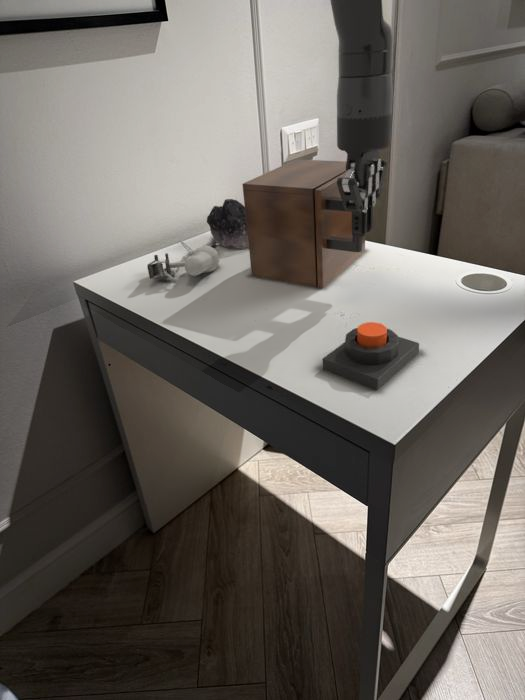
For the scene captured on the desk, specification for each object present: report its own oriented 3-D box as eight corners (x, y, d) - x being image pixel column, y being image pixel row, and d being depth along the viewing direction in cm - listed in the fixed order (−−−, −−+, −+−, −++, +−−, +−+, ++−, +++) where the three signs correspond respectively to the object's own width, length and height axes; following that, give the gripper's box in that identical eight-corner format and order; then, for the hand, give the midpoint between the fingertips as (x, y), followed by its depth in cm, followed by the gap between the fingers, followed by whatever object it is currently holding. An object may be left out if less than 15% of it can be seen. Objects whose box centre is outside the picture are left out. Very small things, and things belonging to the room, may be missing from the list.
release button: (367, 331, 67) (367, 319, 66) (391, 339, 65) (392, 327, 64) (351, 343, 65) (351, 331, 64) (376, 351, 63) (376, 339, 62)
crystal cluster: (272, 230, 118) (265, 185, 114) (276, 245, 106) (268, 196, 102) (214, 240, 119) (205, 196, 114) (212, 257, 107) (201, 208, 102)
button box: (365, 339, 72) (366, 314, 70) (418, 357, 68) (420, 330, 65) (322, 373, 66) (322, 346, 64) (377, 394, 62) (378, 366, 59)
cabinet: (358, 253, 100) (360, 161, 91) (316, 290, 87) (312, 188, 79) (299, 245, 106) (295, 159, 98) (252, 279, 94) (242, 183, 85)
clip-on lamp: (179, 269, 109) (145, 287, 92) (173, 238, 107) (137, 251, 90) (233, 263, 106) (208, 280, 89) (228, 231, 104) (201, 243, 88)
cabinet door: (394, 257, 96) (399, 164, 88) (355, 296, 84) (356, 192, 75) (360, 252, 100) (361, 162, 91) (317, 290, 87) (314, 189, 78)
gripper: (370, 119, 65) (367, 251, 74) (407, 103, 74) (400, 221, 83) (317, 119, 69) (320, 245, 78) (358, 104, 78) (357, 217, 87)
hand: (362, 232), depth 80 cm, fingers closed on cabinet door
